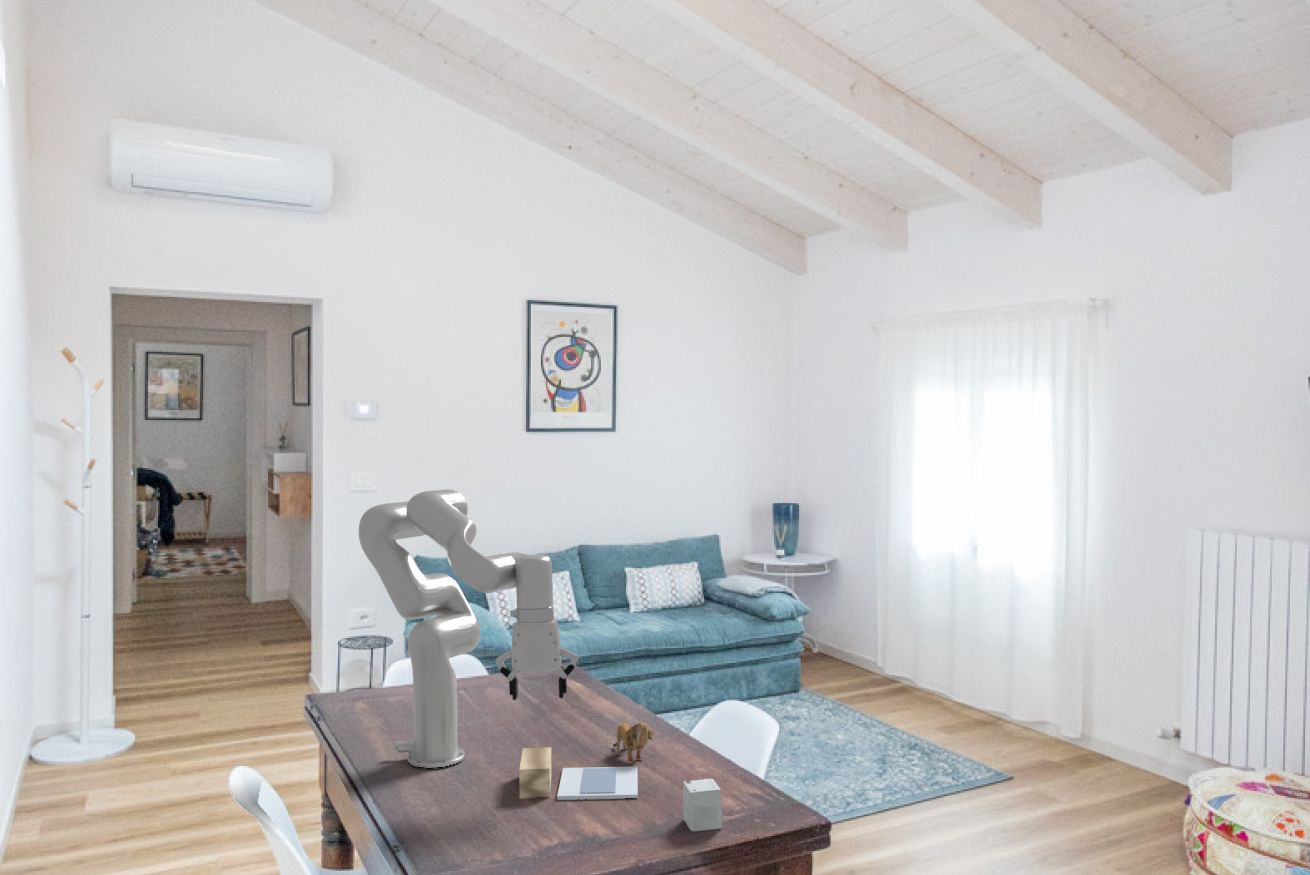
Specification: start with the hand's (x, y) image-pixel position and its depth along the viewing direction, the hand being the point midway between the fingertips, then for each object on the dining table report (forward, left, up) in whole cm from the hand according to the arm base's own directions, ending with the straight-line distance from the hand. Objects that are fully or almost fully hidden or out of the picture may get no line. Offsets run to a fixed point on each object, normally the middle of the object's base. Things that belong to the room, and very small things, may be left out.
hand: (538, 697), depth 205 cm
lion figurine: (+19, +16, -18) cm, 31 cm away
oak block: (-1, -1, -18) cm, 18 cm away
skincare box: (+32, -22, -18) cm, 43 cm away
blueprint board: (+12, -1, -18) cm, 22 cm away
